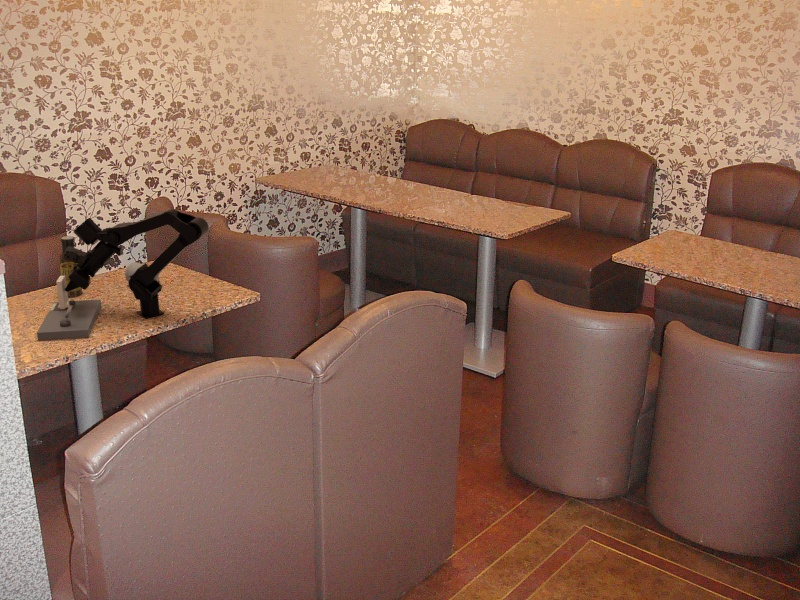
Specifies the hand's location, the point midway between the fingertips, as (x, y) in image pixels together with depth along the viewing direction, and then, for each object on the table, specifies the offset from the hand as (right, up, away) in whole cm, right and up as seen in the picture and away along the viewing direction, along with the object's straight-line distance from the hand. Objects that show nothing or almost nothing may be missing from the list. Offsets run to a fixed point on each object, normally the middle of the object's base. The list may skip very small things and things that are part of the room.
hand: (66, 290), depth 248 cm
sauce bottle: (-6, -1, +19) cm, 20 cm away
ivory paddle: (-1, -5, +1) cm, 5 cm away
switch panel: (+4, -10, -4) cm, 11 cm away
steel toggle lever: (+6, -8, -13) cm, 17 cm away
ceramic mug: (+15, +2, +31) cm, 34 cm away
